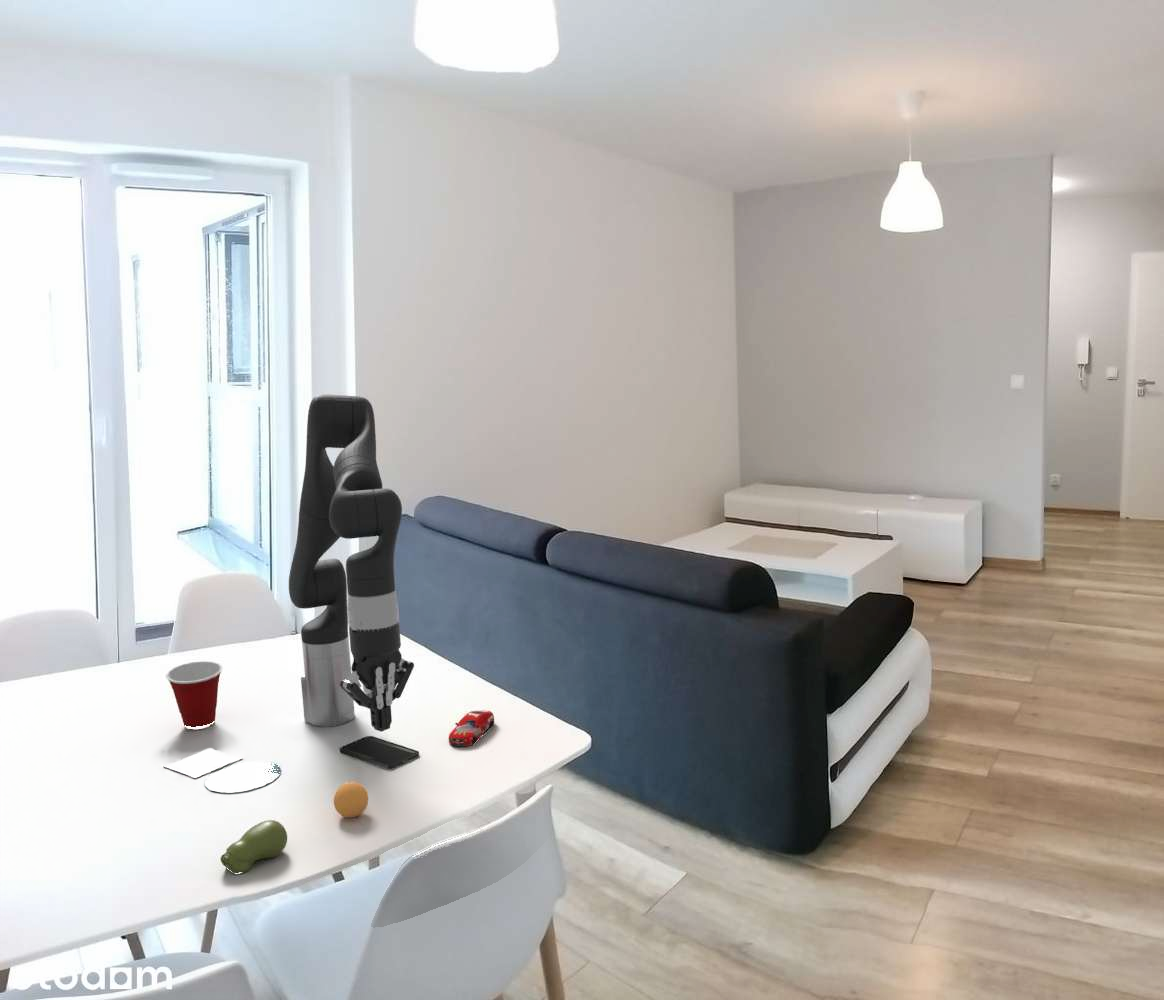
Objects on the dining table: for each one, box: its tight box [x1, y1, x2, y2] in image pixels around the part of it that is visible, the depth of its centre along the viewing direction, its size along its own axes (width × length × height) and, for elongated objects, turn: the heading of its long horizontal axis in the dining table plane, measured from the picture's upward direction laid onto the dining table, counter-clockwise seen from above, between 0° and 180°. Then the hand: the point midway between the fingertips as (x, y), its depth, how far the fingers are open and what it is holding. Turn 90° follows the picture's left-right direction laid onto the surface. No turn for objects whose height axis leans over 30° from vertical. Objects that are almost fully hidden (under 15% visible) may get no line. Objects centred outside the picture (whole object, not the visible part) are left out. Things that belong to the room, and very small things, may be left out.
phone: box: [338, 735, 420, 770], centre depth 186 cm, size 8×1×15 cm
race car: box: [448, 709, 495, 747], centre depth 194 cm, size 13×5×4 cm, turn 160°
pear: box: [220, 819, 288, 873], centre depth 149 cm, size 6×5×10 cm
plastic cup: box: [165, 660, 223, 727], centre depth 203 cm, size 11×11×12 cm
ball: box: [333, 781, 369, 818], centre depth 162 cm, size 6×6×6 cm
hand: (381, 729), depth 153 cm, fingers closed
